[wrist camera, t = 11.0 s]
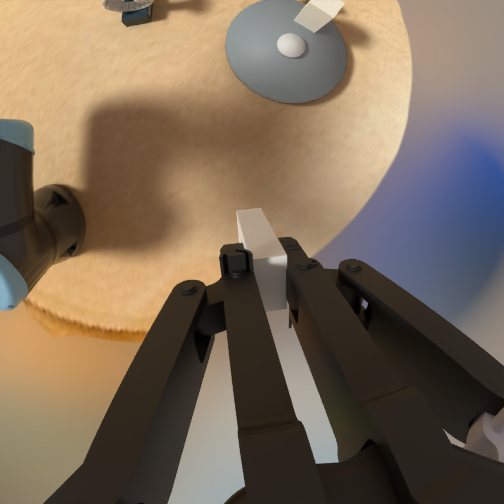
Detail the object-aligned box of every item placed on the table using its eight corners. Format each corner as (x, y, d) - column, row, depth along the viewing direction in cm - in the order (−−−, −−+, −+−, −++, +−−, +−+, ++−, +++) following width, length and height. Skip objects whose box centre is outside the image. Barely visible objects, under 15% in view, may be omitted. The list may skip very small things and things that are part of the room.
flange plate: (310, 125, 41) (333, 126, 32) (201, 66, 34) (198, 51, 26) (368, 32, 33) (396, 20, 25) (273, -26, 26) (286, -51, 18)
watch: (162, 20, 30) (149, -6, 20) (117, 29, 29) (94, 8, 19) (164, -4, 28) (152, -33, 18) (120, 5, 27) (99, -19, 17)
